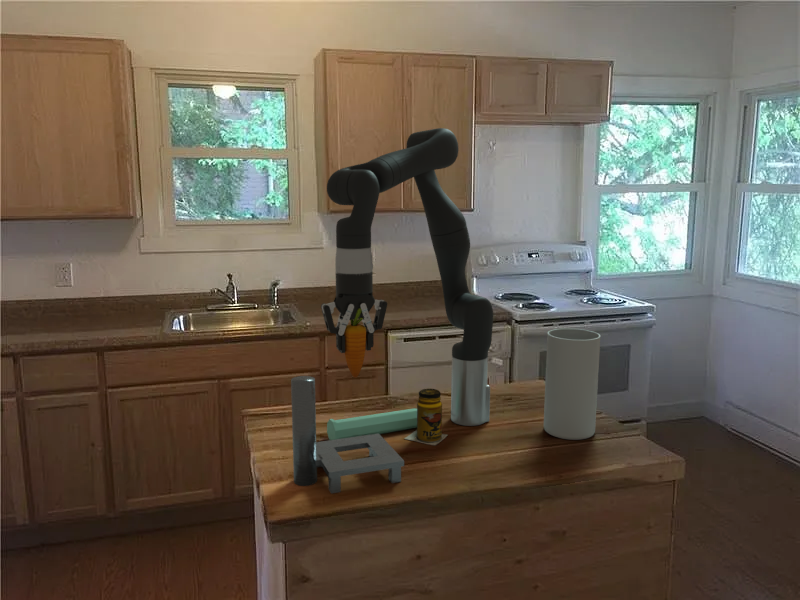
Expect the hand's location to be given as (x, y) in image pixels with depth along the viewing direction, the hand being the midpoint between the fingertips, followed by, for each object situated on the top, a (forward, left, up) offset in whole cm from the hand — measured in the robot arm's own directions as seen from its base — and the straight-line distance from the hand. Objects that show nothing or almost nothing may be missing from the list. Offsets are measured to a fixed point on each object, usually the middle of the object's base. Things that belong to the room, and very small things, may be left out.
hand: (354, 350), depth 138 cm
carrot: (0, 0, -6) cm, 6 cm away
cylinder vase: (-57, -4, -27) cm, 63 cm away
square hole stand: (+3, 0, -27) cm, 27 cm away
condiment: (-22, -13, -27) cm, 37 cm away
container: (-12, -20, -27) cm, 36 cm away
